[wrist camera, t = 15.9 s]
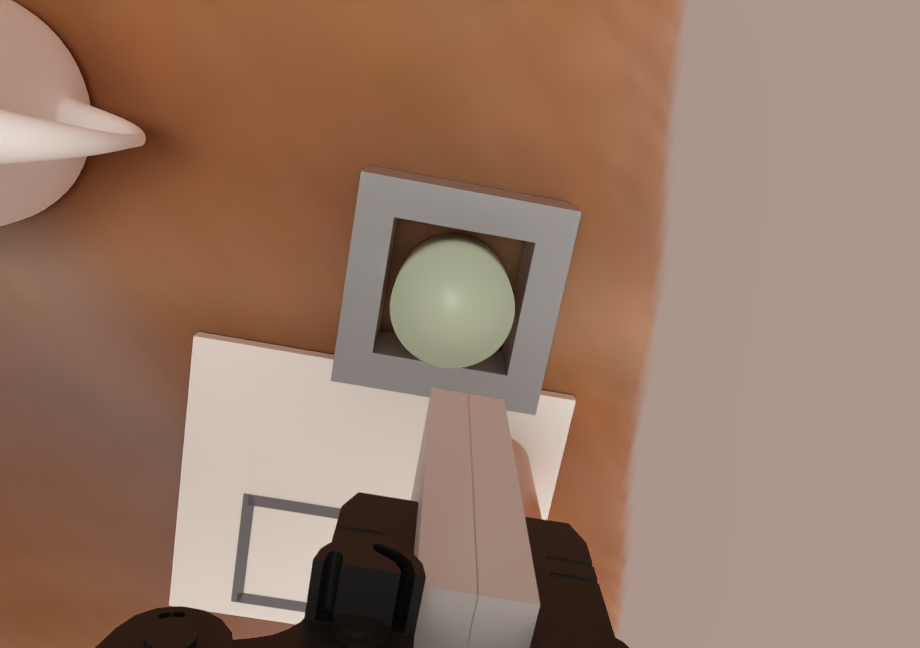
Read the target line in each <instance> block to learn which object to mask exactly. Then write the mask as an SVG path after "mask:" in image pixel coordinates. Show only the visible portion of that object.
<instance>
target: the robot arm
mask: <svg viewBox="0 0 920 648" xmlns="http://www.w3.org/2000/svg"><path fill="white" fill-rule="evenodd" d="M95 648H629V647H628V646H627V645H626V644H625V643H623V642H622V641H620V640H618V639H616V638H615V636H614V632H613V629H612V626H611V623H610V619H609V616H608V613H607V609H606V606H605V603H604V600H603V596H602V593H601V590H600V587H599V584H597V577H596V573H595V570H594V567H592V560H591V557H590V554H589V551H588V547H587V544H586V542H585V541H584V540H583V539H582V538H581V537H580V536H579V535H578V533H577V532H576V531H575V530H574V529H573V528H572V527H571V526H570V525H569V524H567V523H561V522H555V521H549V520H542V519H536V518H530V517H525V514H524V509H523V503H522V497H521V491H520V486H519V480H518V474H517V469H516V463H515V457H514V451H513V446H512V440H511V434H510V428H509V423H508V417H507V411H506V406H505V400H503V399H497V398H491V397H485V396H479V395H473V394H468V393H462V392H456V391H450V390H444V389H438V388H432V389H431V394H430V399H429V405H428V410H427V416H426V421H425V426H424V432H423V437H422V442H421V448H420V453H419V459H418V464H417V469H416V475H415V480H414V485H413V491H412V496H411V500H405V499H398V498H392V497H386V496H380V495H374V494H367V493H361V492H358V493H357V494H356V495H355V496H353V497H352V498H351V499H350V500H348V501H347V502H346V503H345V504H344V505H342V507H341V510H340V514H339V517H338V521H337V524H336V529H335V531H334V535H333V538H332V542H331V543H329V544H327V545H325V546H324V547H322V548H321V549H320V550H319V552H318V553H317V555H316V556H315V557H314V559H313V563H312V570H311V577H310V583H309V590H308V596H307V603H306V610H305V616H304V619H303V620H302V621H301V622H299V623H298V624H296V625H294V626H293V627H291V628H290V629H288V630H285V631H282V632H280V633H277V634H274V635H270V636H264V637H258V638H250V639H239V640H233V639H232V632H231V631H230V630H229V628H228V627H227V626H226V625H225V623H224V622H223V621H222V620H221V619H220V618H218V617H216V616H214V615H212V614H210V613H208V612H206V611H204V610H200V609H194V608H189V607H183V606H179V607H165V608H157V609H153V610H150V611H147V612H144V613H141V614H138V615H135V616H134V617H132V618H131V619H129V620H128V621H126V622H124V623H123V624H121V625H120V626H118V627H117V628H116V629H115V630H114V631H113V632H111V633H110V634H109V635H108V636H107V637H106V638H105V639H104V640H103V641H102V642H101V643H100V644H99V645H97V646H96V647H95Z"/></svg>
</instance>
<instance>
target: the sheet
mask: <svg viewBox="0 0 920 648" xmlns="http://www.w3.org/2000/svg"><path fill="white" fill-rule="evenodd" d="M333 361H334V355H332V354H326V353H320V352H315V351H309V350H303V349H297V348H291V347H285V346H279V345H273V344H268V343H262V342H256V341H250V340H244V339H238V338H232V337H226V336H220V335H215V334H209V333H203V332H197V333H196V334H195V335H194V337H193V348H192V359H191V370H190V380H189V391H188V402H187V413H186V424H185V435H184V446H183V457H182V468H181V479H180V490H179V501H178V512H177V523H176V534H175V545H174V556H173V567H172V578H171V589H170V600H169V606H175V607H179V606H183V607H189V608H194V609H200V610H204V611H209V612H216V613H222V614H229V615H236V616H243V617H249V618H256V619H263V620H270V621H276V622H283V623H290V624H298V623H299V622H301V621H302V620H303V619H304V616H305V610H306V603H307V596H308V590H309V583H310V577H311V570H312V563H313V559H314V557H315V556H316V555H317V553H318V552H319V550H320V549H321V548H322V547H324V546H325V545H327V544H329V543H331V542H332V538H333V535H334V531H335V529H336V524H337V521H338V517H339V514H340V510H341V507H342V505H344V504H345V503H346V502H347V501H348V500H350V499H351V498H352V497H353V496H355V495H356V494H357V493H358V492H361V493H367V494H374V495H380V496H386V497H392V498H398V499H405V500H411V496H412V491H413V485H414V480H415V475H416V469H417V464H418V459H419V453H420V448H421V442H422V437H423V432H424V426H425V421H426V416H427V410H428V405H429V399H430V397H424V396H418V395H412V394H406V393H400V392H394V391H388V390H382V389H376V388H370V387H364V386H358V385H352V384H346V383H340V382H334V381H331V375H332V368H333ZM575 402H576V400H575V397H574V395H568V394H562V393H556V392H550V391H544V390H541V393H540V398H539V402H538V406H537V411H536V415H531V414H525V413H519V412H513V411H507V410H506V411H507V417H508V423H509V428H510V434H511V438H512V439H513V440H515V441H516V442H518V443H519V444H520V445H521V446H522V447H523V448H524V450H525V451H526V453H527V455H528V458H529V462H530V466H531V471H532V476H533V480H534V485H535V490H536V494H537V499H538V503H539V508H540V513H541V517H542V520H547V518H548V514H549V510H550V506H551V502H552V497H553V493H554V489H555V485H556V481H557V477H558V473H559V468H560V464H561V460H562V456H563V452H564V448H565V444H566V440H567V435H568V431H569V427H570V423H571V419H572V415H573V411H574V406H575Z"/></svg>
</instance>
